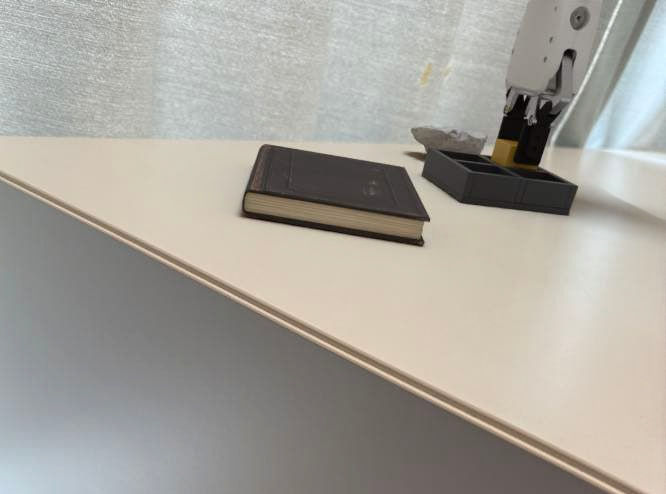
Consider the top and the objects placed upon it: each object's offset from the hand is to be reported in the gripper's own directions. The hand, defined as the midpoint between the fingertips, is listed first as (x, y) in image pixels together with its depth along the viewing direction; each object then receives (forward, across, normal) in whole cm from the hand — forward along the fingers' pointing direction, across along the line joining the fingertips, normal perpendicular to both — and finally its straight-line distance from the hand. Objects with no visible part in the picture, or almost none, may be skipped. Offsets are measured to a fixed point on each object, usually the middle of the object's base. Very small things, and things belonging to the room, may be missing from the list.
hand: (516, 157), depth 93 cm
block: (+3, 0, 0) cm, 3 cm away
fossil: (+4, +16, +2) cm, 17 cm away
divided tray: (+4, -3, +3) cm, 6 cm away
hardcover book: (+4, -16, +26) cm, 31 cm away
